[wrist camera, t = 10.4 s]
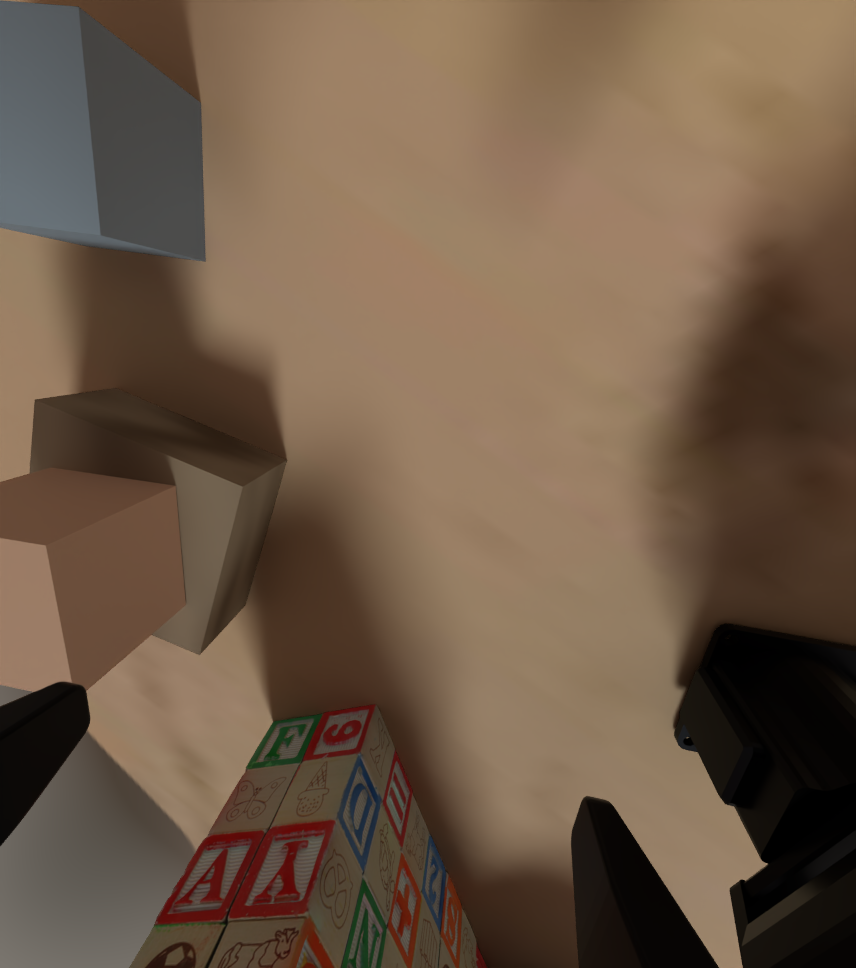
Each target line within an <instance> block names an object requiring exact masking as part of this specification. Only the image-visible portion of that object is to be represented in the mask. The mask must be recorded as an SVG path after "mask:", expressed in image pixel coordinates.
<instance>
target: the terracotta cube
mask: <svg viewBox="0 0 856 968" xmlns="http://www.w3.org/2000/svg"><path fill="white" fill-rule="evenodd" d="M185 605H186V600H185V589H184V577H183V565H182V554H181V542H180V530H179V519H178V507H177V495H176V486H174V485H167V484H160V483H154V482H147V481H140V480H133V479H126V478H119V477H113V476H106V475H99V474H92V473H85V472H78V471H71V470H65V469H58V468H47V469H44V470H41V471H37V472H34V473H30V474H27V475H23V476H20V477H16V478H13V479H10V480H6V481H3V482H0V685H4V686H8V687H14V688H18V689H23V690H28V691H33V692H35V691H38V690H40V689H42V688H45V687H47V686H49V685H52V684H54V683H57V682H61V681H65V682H71V683H75V684H80V685H82V686H83V687H84V688H85V689H86V691H87V690H88V689H89V688H90V687H91V686H92V685H94V684H95V683H96V682H97V681H98V680H99V679H101V678H102V677H103V676H104V675H105V674H106V673H107V672H109V671H110V670H111V669H112V668H113V667H114V666H116V665H117V664H118V663H119V662H120V661H121V660H123V659H124V658H125V657H126V656H127V655H128V654H130V653H131V652H132V651H133V650H134V649H135V648H137V647H138V646H139V645H140V644H141V643H142V642H144V641H145V640H146V639H147V638H148V637H149V636H151V635H152V634H153V633H154V632H155V631H156V630H157V629H159V628H160V627H161V626H162V625H163V624H164V623H166V622H167V621H168V620H169V619H170V618H171V617H173V616H174V615H175V614H176V613H177V612H178V611H180V610H181V609H182V608H183V607H184V606H185Z"/></svg>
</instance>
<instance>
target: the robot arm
mask: <svg viewBox="0 0 856 968" xmlns="http://www.w3.org/2000/svg"><path fill="white" fill-rule="evenodd" d="M728 635H733V636H732V637H731V638H729V639H725V638H726V636H728ZM89 724H90V712H89V706H88V700H87V693H86V689H85V688H84V687H83V686H82V685H80V684H75V683H71V682H65V681H61V682H57V683H54V684H52V685H49V686H47V687H45V688H42V689H40V690H38V691H35V692H33V693H31V694H28V695H26V696H24V697H21V698H19V699H17V700H14V701H12V702H9V703H7V704H5V705H2V706H0V846H1V845H2V843H4V841H5V840H6V839H7V838H8V836H9V835H10V834H11V833H12V831H13V830H14V829H15V828H16V827H17V825H18V824H19V823H20V822H21V820H22V819H23V818H24V816H25V815H26V814H27V812H28V811H29V810H30V808H31V807H32V806H33V804H34V803H35V802H36V800H37V799H38V798H39V796H40V795H41V793H42V792H43V791H44V789H45V788H46V787H47V785H48V784H49V782H50V781H51V780H52V778H53V777H54V776H55V774H56V773H57V771H58V770H59V769H60V767H61V766H62V765H63V763H64V762H65V761H66V759H67V758H68V756H69V755H70V754H71V752H72V751H73V750H74V748H75V747H76V745H77V744H78V742H79V741H80V740H81V738H82V737H83V736H84V734H85V733H86V731H87V729H88V727H89ZM674 736H675V738H676V741H677V743H678V745H679V746H680V747H681V748H682V749H685V750H689V751H694V752H698V754H699V756H700V758H701V760H702V762H703V764H704V766H705V768H706V770H707V772H708V774H709V776H710V778H711V780H712V782H713V784H714V786H715V789H716V791H717V793H718V795H719V796H720V798H721V799H722V800H723V802H724V803H725V804H727V805H731V806H734V807H735V809H736V811H737V813H738V815H739V817H740V819H741V821H742V823H743V825H744V827H745V829H746V831H747V833H748V834H749V836H750V838H751V840H752V842H753V844H754V846H755V848H756V850H757V852H758V854H759V856H760V858H761V860H762V861H763V862H765V863H768V865H766V866H765V867H764V868H762V869H761V870H760V871H758V872H757V873H756V874H754V875H753V876H752V877H750V878H749V879H748V880H746V881H745V880H742V879H741V880H740V881H739V882H737V883H736V884H735V885H733V886H732V887H731V888H730V896H731V901H732V907H733V913H734V919H735V925H736V930H737V936H738V942H739V948H740V954H741V959H742V965H743V968H856V646H851V645H845V644H840V643H834V642H829V641H823V640H818V639H812V638H807V637H801V636H795V635H790V634H784V633H779V632H773V631H768V630H762V629H757V628H751V627H746V626H740V625H734V624H723V625H720V626H719V627H717V628H716V630H715V631H714V633H713V636H712V638H711V641H710V643H709V646H708V648H707V651H706V653H705V656H704V658H703V661H702V663H701V666H700V667H699V668H698V669H697V670H696V672H695V675H694V677H693V680H692V682H691V685H690V687H689V690H688V693H687V695H686V698H685V700H684V703H683V705H682V708H681V710H680V719H679V722H678V724H677V727H676V729H675V732H674ZM687 737H689V738H687ZM571 850H572V867H573V883H574V900H575V916H576V932H577V948H578V961H579V968H719V967H718V965H717V964H716V962H715V961H714V959H713V958H712V956H711V955H710V953H709V952H708V950H707V948H706V947H705V945H704V944H703V942H702V941H701V939H700V938H699V936H698V935H697V933H696V932H695V930H694V929H693V927H692V926H691V924H690V922H689V921H688V919H687V918H686V916H685V915H684V913H683V912H682V910H681V909H680V907H679V906H678V904H677V903H676V901H675V899H674V898H673V896H672V895H671V893H670V892H669V890H668V889H667V887H666V886H665V884H664V883H663V881H662V880H661V878H660V877H659V875H658V873H657V872H656V870H655V869H654V867H653V866H652V864H651V863H650V861H649V860H648V858H647V857H646V855H645V854H644V852H643V850H642V849H641V847H640V846H639V844H638V843H637V841H636V840H635V838H634V837H633V835H632V834H631V832H630V831H629V829H628V828H627V826H626V824H625V823H624V821H623V820H622V818H621V817H620V815H619V814H618V812H617V811H616V809H615V808H614V806H613V805H612V804H611V803H610V802H609V801H607V800H603V799H599V798H594V797H590V796H586V797H584V798H583V800H582V802H581V805H580V808H579V811H578V814H577V817H576V820H575V823H574V826H573V829H572V836H571Z"/></svg>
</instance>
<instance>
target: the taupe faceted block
mask: <svg viewBox="0 0 856 968" xmlns="http://www.w3.org/2000/svg"><path fill="white" fill-rule="evenodd" d="M286 462H287V460H286V459H284V458H281V457H279V456H277V455H274V454H272V453H269V452H267V451H265V450H262V449H260V448H258V447H255V446H253V445H250V444H248V443H246V442H243V441H241V440H238V439H236V438H234V437H231V436H229V435H227V434H224V433H222V432H219V431H217V430H215V429H212V428H210V427H207V426H205V425H203V424H200V423H198V422H195V421H193V420H191V419H188V418H186V417H184V416H181V415H179V414H176V413H174V412H172V411H169V410H167V409H164V408H162V407H160V406H157V405H155V404H152V403H150V402H148V401H145V400H143V399H141V398H138V397H136V396H133V395H131V394H129V393H126V392H124V391H121V390H119V389H117V388H113V389H106V390H99V391H92V392H85V393H78V394H71V395H64V396H57V397H50V398H43V399H36V400H35V404H34V418H33V432H32V446H31V460H30V473H34V472H37V471H41V470H44V469H47V468H58V469H65V470H71V471H78V472H85V473H92V474H99V475H106V476H113V477H119V478H126V479H133V480H140V481H147V482H154V483H160V484H167V485H174V486H176V495H177V507H178V519H179V530H180V542H181V554H182V565H183V577H184V589H185V600H186V605H185V606H184V607H183V608H182V609H181V610H180V611H178V612H177V613H176V614H175V615H174V616H173V617H171V618H170V619H169V620H168V621H167V622H166V623H164V624H163V625H162V626H161V627H160V628H159V629H157V630H156V631H155V632H154V633H153V634H152V635H153V636H156V637H158V638H160V639H163V640H165V641H167V642H170V643H172V644H175V645H177V646H179V647H182V648H184V649H186V650H189V651H191V652H193V653H196V654H198V655H200V654H201V653H202V652H203V651H204V650H205V649H206V648H207V647H208V645H209V644H210V643H211V642H212V641H213V640H214V639H215V638H216V637H217V636H218V635H219V633H220V632H221V631H222V630H223V629H224V628H225V627H226V626H227V625H228V624H229V623H230V621H231V620H232V619H233V618H234V617H235V616H236V615H237V614H238V613H239V612H240V611H241V609H242V608H243V607H244V606H245V605H246V601H247V598H248V594H249V591H250V587H251V584H252V580H253V577H254V574H255V570H256V567H257V563H258V560H259V556H260V553H261V549H262V546H263V542H264V539H265V535H266V532H267V528H268V525H269V521H270V518H271V514H272V511H273V507H274V504H275V501H276V497H277V494H278V490H279V487H280V483H281V480H282V476H283V473H284V469H285V466H286Z"/></svg>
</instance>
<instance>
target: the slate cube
mask: <svg viewBox="0 0 856 968" xmlns="http://www.w3.org/2000/svg"><path fill="white" fill-rule="evenodd" d="M0 228H4V229H9V230H13V231H18V232H23V233H27V234H32V235H37V236H41V237H46V238H51V239H55V240H60V241H65V242H69V243H74V244H79V245H83V246H89V247H97V248H105V249H112V250H120V251H128V252H135V253H143V254H151V255H159V256H166V257H174V258H182V259H189V260H197V261H205V262H206V258H205V224H204V190H203V156H202V122H201V103H200V102H199V101H198V100H196V99H195V98H194V97H193V96H191V95H190V94H189V93H187V92H186V91H185V90H184V89H182V88H181V87H180V86H179V85H177V84H176V83H175V82H174V81H172V80H171V79H170V78H168V77H167V76H166V75H165V74H163V73H162V72H161V71H160V70H158V69H157V68H156V67H154V66H153V65H152V64H151V63H149V62H148V61H147V60H146V59H144V58H143V57H142V56H140V55H139V54H138V53H137V52H135V51H134V50H133V49H132V48H130V47H129V46H128V45H127V44H125V43H124V42H123V41H121V40H120V39H119V38H118V37H116V36H115V35H114V34H113V33H111V32H110V31H109V30H107V29H106V28H105V27H104V26H102V25H101V24H100V23H99V22H97V21H96V20H95V19H93V18H92V17H91V16H90V15H88V14H87V13H86V12H85V11H83V10H82V9H81V8H79V7H76V6H63V5H51V4H38V3H26V2H13V1H0Z"/></svg>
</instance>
